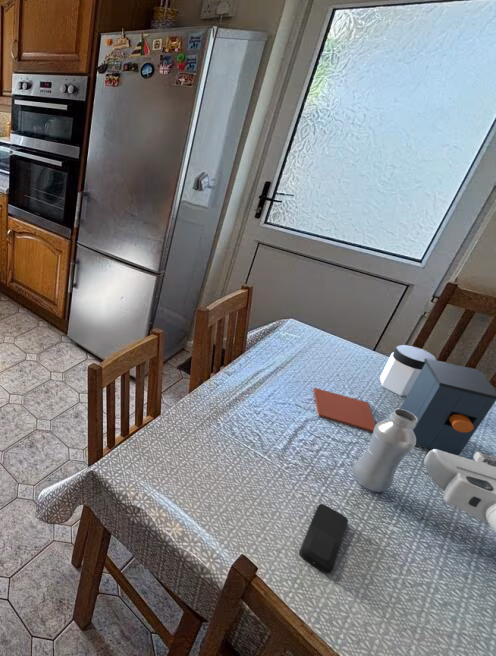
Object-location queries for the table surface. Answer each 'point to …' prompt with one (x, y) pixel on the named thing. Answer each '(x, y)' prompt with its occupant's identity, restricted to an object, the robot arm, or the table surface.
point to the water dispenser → (447, 404)
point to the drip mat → (344, 409)
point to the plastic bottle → (386, 451)
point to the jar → (403, 369)
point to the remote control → (324, 538)
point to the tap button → (461, 423)
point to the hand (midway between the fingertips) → (484, 456)
